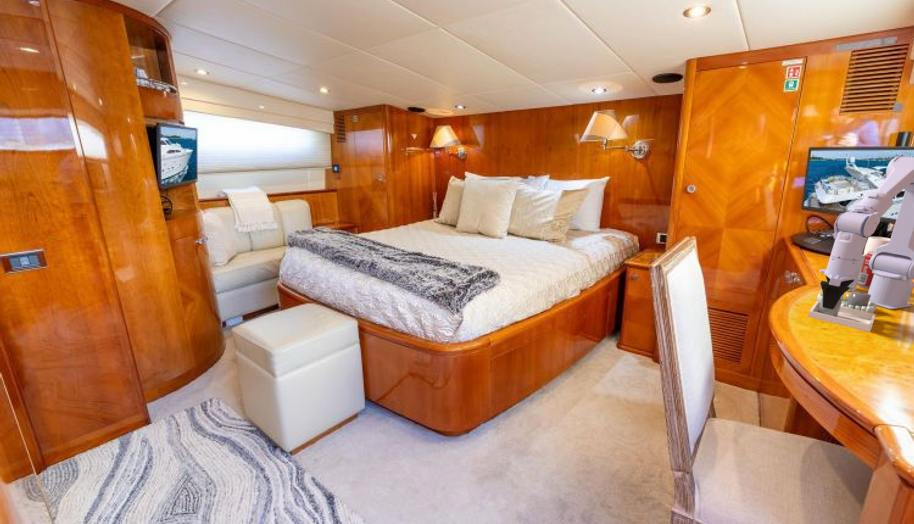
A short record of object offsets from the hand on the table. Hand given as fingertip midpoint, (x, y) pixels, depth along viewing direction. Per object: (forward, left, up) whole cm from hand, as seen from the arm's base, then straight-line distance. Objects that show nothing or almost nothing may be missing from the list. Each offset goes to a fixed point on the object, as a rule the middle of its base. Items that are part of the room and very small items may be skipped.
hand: (830, 304), depth 106 cm
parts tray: (-1, +2, -4) cm, 5 cm away
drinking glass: (-54, -19, -4) cm, 58 cm away
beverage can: (-42, -13, -4) cm, 44 cm away
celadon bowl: (-13, -3, -4) cm, 14 cm away
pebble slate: (0, 0, -3) cm, 3 cm away
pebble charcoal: (-14, -1, -3) cm, 14 cm away
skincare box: (-32, -15, -4) cm, 36 cm away
